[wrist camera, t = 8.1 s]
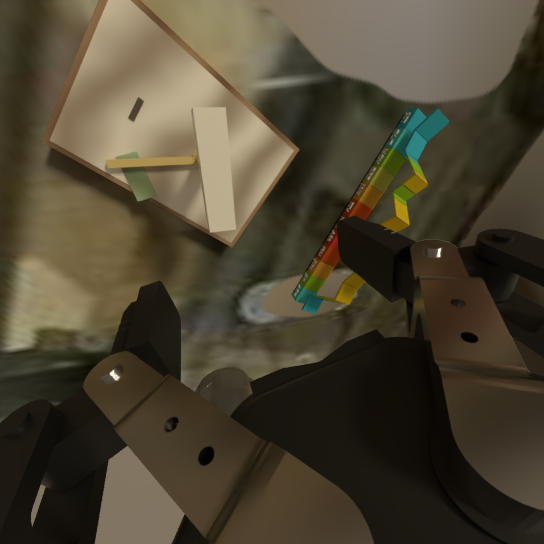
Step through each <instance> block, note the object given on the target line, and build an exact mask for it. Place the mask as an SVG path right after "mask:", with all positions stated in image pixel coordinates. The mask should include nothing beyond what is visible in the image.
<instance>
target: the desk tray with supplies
mask: <svg viewBox="0 0 544 544" xmlns="http://www.w3.org/2000/svg"><path fill="white" fill-rule="evenodd" d="M192 107H226V115H227V127H228V139H229V150H230V162H231V174H232V186H233V198H234V210H235V222H236V230H229V231H220V232H211V233H210V231H209V227H208V223H207V219H206V215H205V208H204V201H203V194H202V187H201V180H200V173H199V170H197V169H196V167H195V166H194V164H185V165H164V166H142V167H121V168H108V166H107V163H106V160H107V159H132V158H158V157H183V156H192V155H193V152H194V150H195V149H196V145H195V138H194V131H193V124H192V117H191V109H192ZM41 142H42V143H44V144H46V145H48V146H50V147H52V148H53V149H55V150H57V151H59V152H61V153H62V154H64V155H66V156H68V157H70V158H71V159H73V160H75V161H77V162H79V163H80V164H82V165H84V166H86V167H88V168H89V169H91V170H93V171H95V172H97V173H99V174H100V175H102V176H104V177H106V178H108V179H109V180H111V181H113V182H115V183H117V184H118V185H120V186H122V187H124V188H126V189H127V190H129V191H131V192H133V193H134V195H135V197H136V199H137V201H142V200H147V201H149V202H151V203H153V204H155V205H156V206H158V207H160V208H162V209H164V210H165V211H167V212H169V213H171V214H173V215H174V216H176V217H178V218H180V219H182V220H183V221H185V222H187V223H189V224H191V225H192V226H194V227H196V228H198V229H200V230H202V231H203V232H205V233H207V234H209V235H211V236H212V237H214V238H216V239H218V240H220V241H221V242H223V243H225V244H227V245H229V246H230V247H233V246H234V244H235V243H236V241H237V240H238V238H239V237H240V235H241V234H242V233H243V231H244V230H245V228H246V227H247V225H248V224H249V222H250V221H251V219H252V218H253V216H254V215H255V214H256V212H257V211H258V209H259V208H260V206H261V205H262V203H263V202H264V200H265V199H266V198H267V196H268V195H269V193H270V192H271V190H272V189H273V187H274V186H275V184H276V183H277V181H278V180H279V179H280V177H281V176H282V174H283V173H284V171H285V170H286V168H287V167H288V165H289V164H290V162H291V161H292V160H293V158H294V157H295V155H296V154H297V152H298V151H299V149H298V148H297V147H296V146H295V145H294V144H293V143H292V142H291V141H290V140H289V139H288V138H287V137H286V136H284V135H283V134H282V133H281V132H280V131H279V130H278V129H277V128H276V127H275V126H274V125H273V124H272V123H271V122H270V121H268V120H267V119H266V118H265V117H264V116H263V115H262V114H261V113H260V112H259V111H258V110H257V109H256V108H255V107H253V106H252V105H251V104H250V103H249V102H248V101H247V100H246V99H245V98H244V97H243V96H242V95H241V94H240V93H239V92H237V91H236V90H235V89H234V88H233V87H232V86H231V85H230V84H229V83H228V82H227V81H226V80H225V79H224V78H223V77H221V76H220V75H219V74H218V73H217V72H216V71H215V70H214V69H213V68H212V67H211V66H210V65H209V64H208V63H207V62H205V61H204V60H203V59H202V58H201V57H200V56H199V55H198V54H197V53H196V52H195V51H194V50H193V49H192V48H191V47H189V46H188V45H187V44H186V43H185V42H184V41H183V40H182V39H181V38H180V37H179V36H178V35H177V34H176V33H175V32H173V31H172V30H171V29H170V28H169V27H168V26H167V25H166V24H165V23H164V22H163V21H162V20H161V19H160V18H159V17H157V16H156V15H155V14H154V13H153V12H152V11H151V10H150V9H149V8H148V7H147V6H146V5H145V4H144V3H143V2H141V1H140V0H99V1H98V3H97V6H96V8H95V11H94V13H93V16H92V18H91V21H90V23H89V25H88V28H87V30H86V33H85V35H84V38H83V40H82V43H81V45H80V47H79V50H78V52H77V55H76V57H75V60H74V62H73V65H72V67H71V69H70V72H69V74H68V77H67V79H66V82H65V84H64V87H63V89H62V92H61V94H60V96H59V99H58V101H57V104H56V106H55V109H54V111H53V114H52V116H51V118H50V121H49V123H48V126H47V128H46V131H45V133H44V136H43V138H42V140H41Z"/></svg>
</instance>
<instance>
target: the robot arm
mask: <svg viewBox="0 0 544 544" xmlns="http://www.w3.org/2000/svg"><path fill="white" fill-rule="evenodd" d="M337 239H338V251H339V256H340V258H341V260H342V262H343V263H344V264H345V265H346V266H348V267H349V268H350V269H351V270H353V271H354V272H355V273H356V274H357V275H359V276H360V277H361V278H362V279H363V280H365V281H366V282H367V283H368V284H369V285H371V286H372V287H373V288H374V289H375V290H377V291H378V292H379V293H380V294H381V295H383V296H384V297H385V298H386V299H387V300H389V301H390V302H394V301H396V300H399V299H401V298H404V299H405V316H406V326H407V337H408V338H407V337H389V338H384V337H383V336H382V335H381V333H380V332H379V331H378V330H377V329H376V330H373V331H371V332H369V333H366V334H364V335H361V336H359V337H357V338H354V339H352V340H349V341H347V342H346V343H344V344H343V345H342V346H340V347H339V348H338V349H336V350H335V351H334V352H332V353H331V354H330V355H328V356H327V357H326V358H324V359H323V360H321V361H319V362H316V363H311V364H305V365H299V366H293V367H288V368H282V369H280V370H278V371H275V372H273V373H270V374H268V375H266V376H263V377H261V378H258V379H256V380H254V381H253V380H252V379H250V378H248V377H247V375H246V373H245V372H244V371H242V370H240V369H236V368H224V369H220V370H217V371H215V372H213V373H211V374H209V375H208V376H207V377H205V378H204V379H203V380H202V382H201V384H200V386H199V394H197V393H196V392H194V391H193V390H192V389H190V388H189V387H187V386H186V385H185V384H183V383H182V382H181V320H180V316H179V313H178V311H177V308H176V307H175V305H174V303H173V301H172V299H171V298H170V296H169V294H168V292H167V290H166V288H165V287H164V285H163V283H162V282H161V281H157V282H154V283H151V284H148V285H145V286H142V287H140V290H139V294H138V298H137V301H135V302H132V303H131V304H130V305H129V306H128V308H127V309H126V310H125V311H124V313H123V316H122V319H121V324H120V325H119V329H118V330H119V331H118V332H117V335H116V338H115V341H114V344H113V348H112V351H111V354H110V356H109V357H107V358H105V359H104V360H102V361H101V362H100V363H98V364H97V365H96V366H95V367H94V368H93V369H92V370H91V372H90V373H89V374H88V376H87V377H86V379H85V382H84V389H83V390H81V391H80V392H78V393H77V394H75V395H73V396H72V397H70V398H68V399H67V400H65V401H64V402H62V403H60V404H59V405H57V406H54V405H52V404H51V403H50V402H49V401H47V400H44V399H39V400H35V401H32V402H30V403H27V404H25V405H24V406H22V407H20V408H19V409H17V410H16V411H14V412H13V413H11V414H10V415H9V416H8V417H6V418H5V419H4V420H3V421H2V422H1V423H0V544H95V538H96V532H97V526H98V520H99V514H100V508H101V502H102V496H103V490H104V484H105V478H106V472H107V466H108V460H109V459H110V458H112V457H113V456H114V455H115V454H117V453H118V452H120V451H121V450H122V449H124V448H125V447H126V446H128V447H129V448H130V449H131V450H132V451H133V453H134V454H135V455H136V456H137V457H138V458H139V460H140V461H141V462H142V463H143V464H144V466H145V467H146V468H147V469H148V471H149V472H150V473H151V474H152V475H153V476H154V478H155V479H156V480H157V481H158V482H159V484H160V485H161V486H162V487H163V488H164V490H165V491H166V492H167V493H168V494H169V496H170V497H171V498H172V499H173V500H174V501H175V503H176V504H177V505H178V506H179V507H180V509H181V510H182V511H183V512H184V513H185V515H184V517H183V519H182V521H181V524H180V526H179V528H178V531H177V533H176V535H175V538H174V540H173V542H172V544H544V376H540V375H537V374H534V373H530V372H529V371H528V369H527V368H526V366H525V364H524V362H523V360H522V358H521V356H520V354H519V351H518V349H517V348H516V345H515V343H514V341H513V339H512V337H514V338H515V339H517V340H518V341H520V342H521V343H523V344H524V345H525V346H527V347H528V348H530V349H531V350H533V351H534V352H536V353H537V354H539V355H540V356H542V357H543V358H544V307H543V306H541V305H539V304H537V303H535V302H533V301H532V300H530V299H528V298H526V297H524V296H522V295H520V294H518V293H516V292H515V291H513V290H514V287H515V285H516V282H517V280H518V277H519V275H520V276H522V277H524V278H526V279H528V280H530V281H533V282H535V283H537V284H539V285H541V286H543V287H544V240H543V239H540V238H537V237H534V236H531V235H528V234H525V233H522V232H519V231H515V230H509V229H490V230H485V231H482V232H480V233H479V234H478V236H477V240H476V244H475V246H468V247H461V248H456V247H455V246H454V245H453V244H451V243H449V242H446V241H442V240H434V239H429V240H421V241H418V242H415V241H413V240H411V239H409V238H407V237H405V236H403V235H401V234H399V233H397V232H396V233H395V232H394V231H393V230H391V229H388V228H386V227H384V226H382V225H380V224H377V223H372V222H367V221H365V220H363V219H361V218H359V217H357V216H350V217H347V218H345V219H342V220H339V221H338V222H337ZM511 336H512V337H511ZM41 484H42V485H44V486H45V487H46V488H45V491H44V494H43V497H42V500H41V503H40V506H39V509H38V512H37V515H36V518H35V521H34V524H33V527H32V524H31V512H32V508H33V505H34V502H35V499H36V496H37V493H38V490H39V488H40V485H41Z"/></svg>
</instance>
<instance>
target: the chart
mask: <svg viewBox="0 0 544 544" xmlns="http://www.w3.org/2000/svg"><path fill="white" fill-rule="evenodd" d="M448 123H449V121H448V119H447V118H446V117H445V116H444V115H443V114H442V112H441V111H440V110H439V109H435V110H434V111H433V112H432V113H431V114H430V115H429V116H428V117H426V116H425V115H424V114H423V113H422V112H421V111H420V110H419V109H418V108H414V109H408V110H407V111H406V113H405V115H404V116H403V118H402V119H401V121H400V123H399V124H398V126H397V127H396V129H395V131H394V132H393V134H392V135H391V137H390V139H389V140H388V142H387V143H386V145H385V147H384V148H383V150H382V151H381V153H380V155H379V156H378V158H377V159H376V161H375V163H374V164H373V166H372V167H371V169H370V171H369V172H368V174H367V175H366V177H365V179H364V180H363V182H362V183H361V185H360V187H359V188H358V190H357V191H356V193H355V195H354V196H353V198H352V199H351V201H350V203H349V204H348V206H347V207H346V209H345V211H344V212H343V214H342V215H341V217H340V219H339V220H342V219H345V218H347V217H350V216H357V217H359V218H361V219H363V220H366V219H367V217H368V216H369V214H370V213H371V211H372V210H373V208H374V207H375V205H376V204H377V202H378V201H379V199H380V197H381V196H382V194H383V193H384V191H385V190H386V188H387V187H388V185H389V184H390V182H391V181H392V179H393V178H394V176H395V175H396V173H397V172H398V170H399V169H400V167H401V166H402V164H403V163H404V161H405V160H406V158H407V160H408V162H409V164H410V167H411V168H412V171H413V173H414V174H413V175H412V176H410V177H409V178H408V179H407V180H405V181H404V182H403V183H401V184H402V185H401V184H400V185H399V186H398V187H396V188H395V189H394V190H392V199H393V207H394V217H392V218H390V219H388V220H386V221H384V222H382V223H380V225H382V226H384V227H386V228H388V229H391V230H393V231H394V232H397V231H399V230H401V229H404V228H406V227H408V226H409V219H408V212H407V205H406V201H407V200H408V199H409V198H411V197H412V196H414V195H415V194H416V193H418V192H419V191H421V190H422V189H423V188H425V187H426V186H428V185H427V184H428V183H427V181H426V179H425V177H424V175H423V173H422V170H421V168H420V166H419V164H418V162H417V160H418V158H419V156H420V154H421V153H422V151H423V149H424V147H425V145H426V143H427V141H428V140H430V139H431V138H432V137H433V136H434V135H435V134H436V133H438V132H439V131H440V130H441V129H442V128H443V127H444V126H445V125H447V124H448ZM413 193H414V194H413ZM344 214H345V215H344ZM395 216H396V217H395ZM398 218H399V219H398ZM339 220H338V221H339ZM401 220H402V221H401ZM404 222H405V223H404ZM407 224H408V225H407ZM339 259H340V256H339V251H338V239H337V223H336V225H335V227H334V228H333V230H332V231H331V233H330V235H329V236H328V238H327V239H326V241H325V242H324V244H323V246H322V247H321V249H320V250H319V252H318V254H317V255H316V257H315V258H314V260H313V262H312V263H311V265H310V266H309V268H308V270H307V271H306V273H305V274H304V275H303V276H302V278H301V279H300V281H299V283H298V284H297V286H296V288H295V289H294V291H293V293H292V294H291V295H292V296H293V298H294V299H295V301H297V302H301V303H304V306H303V308H302V310H304V311H307V312H310V313H314V314H316V312H317V310H318V309H319V307H320V305H321V303H322V301H323V300H327V301H332V302H337V303H342V304H347V305H349V304H350V302H351V300H352V298H353V296H354V294H355V292H356V291H357V288H359V287H360V286H361V285H363V284H364V283H365V282H366V281H365V280H363V279H362V278H361V277H360V276H359V275H357V274H356V273H355V272H354V273H353V274H351V275H350V276H349V277H348V278H347V279H346V280H344V281H343V282H342V285H341V286H340V288H339V290H338V292H337V294H336V296H335V298H334V299H333V298H328V297H322V296H317V293H318V291H319V290H320V288H321V287H322V285H323V284H324V282H325V280H326V279H327V277H328V276H329V275H330V273H331V272H332V270H333V268H334V267H335V265H336V264H337V262H338V261H339ZM333 266H334V267H333Z"/></svg>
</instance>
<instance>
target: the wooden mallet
mask: <svg viewBox="0 0 544 544" xmlns="http://www.w3.org/2000/svg"><path fill="white" fill-rule="evenodd" d="M191 117H192V124H193V131H194V138H195V145H196V149H195V150H194V152H193V155H192V156H183V157H158V158H132V159H107V160H106V163H107V166H108V168H121V167H142V166H164V165H185V164H194V166H195V167H196V169H197V170H199V173H200V180H201V187H202V194H203V201H204V208H205V215H206V219H207V223H208V227H209V231H210V233H211V232H220V231H229V230H236V222H235V210H234V198H233V186H232V174H231V162H230V150H229V139H228V127H227V115H226V107H192V109H191Z"/></svg>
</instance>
